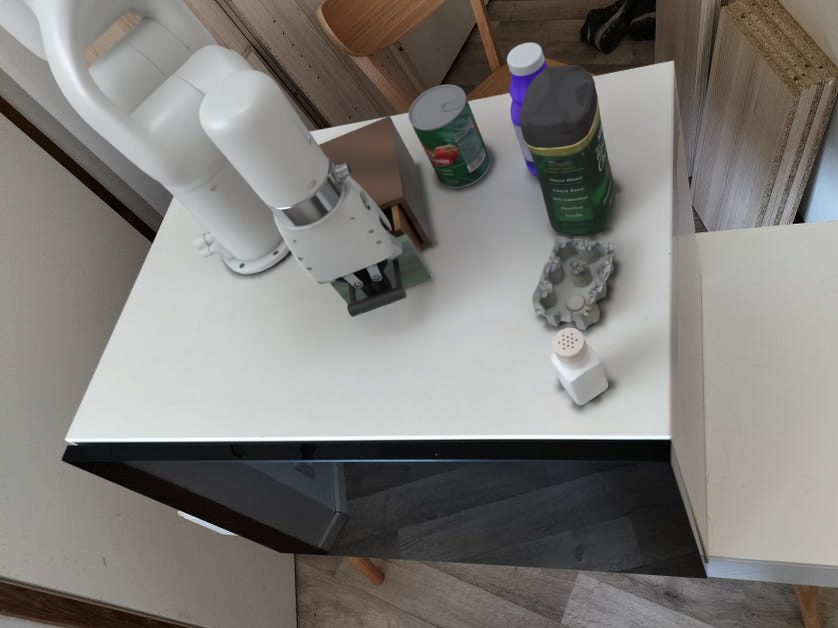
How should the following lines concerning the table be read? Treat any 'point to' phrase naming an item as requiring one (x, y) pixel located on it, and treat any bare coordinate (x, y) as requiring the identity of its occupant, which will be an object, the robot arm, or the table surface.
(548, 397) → the table surface
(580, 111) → the coffee jar
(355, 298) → the drawer
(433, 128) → the canned tomato
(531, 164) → the bottle
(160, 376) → the table surface
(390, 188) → the cabinet
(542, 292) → the egg carton
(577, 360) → the salt shaker
